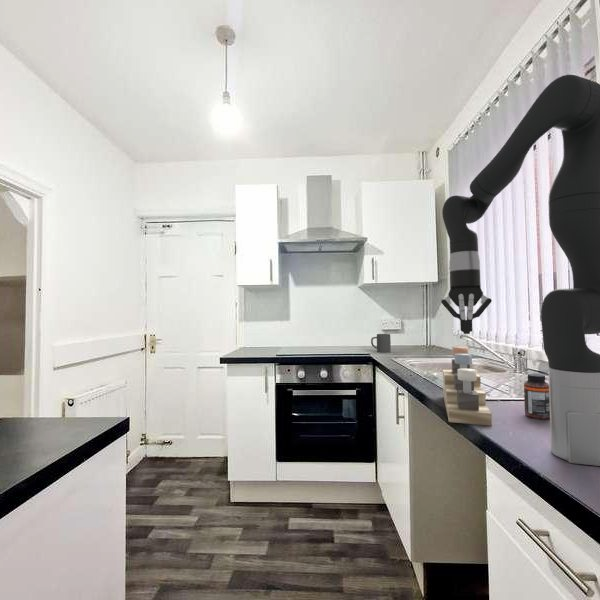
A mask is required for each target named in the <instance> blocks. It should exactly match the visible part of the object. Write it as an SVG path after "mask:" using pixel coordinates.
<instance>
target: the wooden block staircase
mask: <svg viewBox="0 0 600 600" xmlns="http://www.w3.org/2000/svg"><path fill="white" fill-rule="evenodd" d="M470 367H471V364H470V365H467V369H471V368H470ZM457 369H460V364H455V358H451V369H442V386H443V387H442V388H443V391H442V392H443V393H442V394H443V396H442V397H443V401H444V406H445V410H446V415H447V416H446V417H447V418H448V419H447V420H448V423H458V424H467V425H470V424H471V425H480V426H482V425H483V426H492V424H493V422H492V421H493V417H492V415H493V414H492V412H491V410H490V409H489V407H488V406H487V402H486V401H487V400H486V399H487V398H486V396H487V395H486V392H485V390H484V389H483V387H482V386H481V385H482V384H481V382H482V381H481V375H480V374H479V372H478V371H476V377H477V380H476V381H471V393H463V381H461V380H458V370H457Z"/></svg>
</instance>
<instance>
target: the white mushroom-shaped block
mask: <svg viewBox="0 0 600 600" xmlns="http://www.w3.org/2000/svg"><path fill="white" fill-rule="evenodd" d="M457 370H458V380H461V381H463V393H471V381H476V380H477V377H476V372H477V369H474V368H470V369H466V368H461V369H457Z"/></svg>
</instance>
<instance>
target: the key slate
mask: <svg viewBox="0 0 600 600" xmlns="http://www.w3.org/2000/svg"><path fill="white" fill-rule="evenodd" d="M454 359H455V364H460V369H461V368H466V369H467V365H470V366H471V365H473V355H472V354H470V353H468V354H455V356H454Z"/></svg>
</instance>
